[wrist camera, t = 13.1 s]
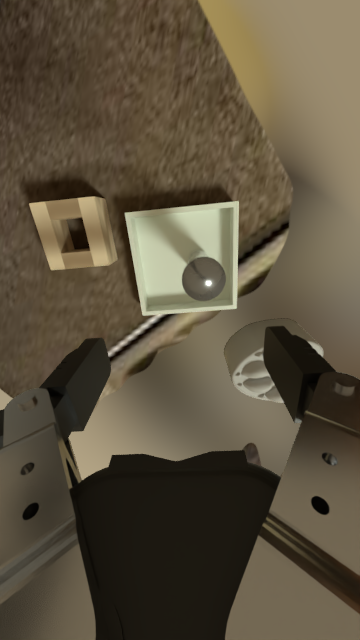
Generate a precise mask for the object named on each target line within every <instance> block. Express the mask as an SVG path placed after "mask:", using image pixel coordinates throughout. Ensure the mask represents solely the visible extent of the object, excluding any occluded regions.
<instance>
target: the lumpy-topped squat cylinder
mask: <svg viewBox="0 0 360 640" xmlns="http://www.w3.org/2000/svg"><path fill="white" fill-rule="evenodd" d="M269 326H285V328H286V329H287V330H288V331H289V332H290V333H291V334H292V335H297V336H299V337H301V338H303V339H305V340H306V341H307V342H308V343H309V344H310V345H311V346H312V347H313V348H314V349H315V350H316V351H317V352H318V354H320V355H321V356H322V357H323V349H322V347H321V346H320V345H319V344H318V343H317V342H316V341H315V340H314V339H313V338H312V337H311V336H310V335H309V334H308V333H307V332H306V331H305V330H304V329H303V328H302V327H301V326H300V325H299V324H298V323H297V322H295V321H293V320H291V319H285V318H283V319H282V318H281V319H270V320H264V321H259V322H255V323H251V324H248V325H246V326H245V327H243V328H242V329H240V330H239V331H237V332H236V333H235V334H234V335H233V336H232V337H231V338H230V339H229V341H228V342H227V343H226V345H225V348H224V355H225V359H226V363H227V366H228V370H229V373H230V376H231V381H232V383H233V385H234V386H235V387H236V388H237V389H238V390H239V391H240V392H242V393H243V394H245V395H247V396H250V397H253V398H257V399H261V400H271V401H274V402H277V403H283V400H282V398H281V396H280V394H279V392H278V390H277V388H276V386H275V384H274V383H273V381H272V379H271V377H270V375H269V373H268V371H267V369H266V367H265V364H264V359H263V351H264V338H265V329H266V327H269Z"/></svg>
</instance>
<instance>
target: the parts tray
mask: <svg viewBox="0 0 360 640" xmlns="http://www.w3.org/2000/svg"><path fill="white" fill-rule="evenodd" d="M238 217H239V201H234V202H225V203H215V204H205V205H195V206H186V207H176V208H166V209H156V210H147V211H137V212H127V213H125V218H126V224H127V229H128V235H129V241H130V246H131V252H132V258H133V263H134V269H135V275H136V281H137V286H138V292H139V298H140V303H141V309H142V315H143V316H145V315H158V314H172V313H186V312H199V311H213V310H226V309H237V273H238ZM195 250H202V251H204V252H206V253H207V255H208V257H211V258H213V259H215V260H217V261H218V262H219V263H220V265H221V266H222V267H223V269H224V271H225V275H226V282H225V286H224V288H223V290H222V292H221V293H220V294H219V295H218V296H217V297H215V298H213V299H211V300H208V301H198V300H195V299H193V298H191V297H190V296H189V295H188V294H187V293H186V292H185V290H184V288H183V285H182V274H183V270H184V268H185V266H186V265H187V264H188V257H189V255H190V254H191V253H192V252H193V251H195Z"/></svg>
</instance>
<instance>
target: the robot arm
mask: <svg viewBox="0 0 360 640" xmlns="http://www.w3.org/2000/svg"><path fill="white" fill-rule="evenodd" d="M263 359H264V364H265V367H266V369H267V371H268V373H269V375H270V377H271V379H272V381H273V383H274V384H275V386H276V388H277V390H278V392H279V394H280V396H281V398H282V400H283V402H284V404H285V405H286V407H287V409H288V411H289V413H290V415H291V417H292V419H293V421H294V423H301V424H300V427H299V430H298V433H297V435H296V438H295V441H294V444H293V446H292V449H291V452H290V455H289V458H288V460H287V463H286V466H285V469H284V471H283V474H282V477H280V476H278V475H277V474H275V473H273V472H272V471H270V470H268V469H266V468H264V467H262V466H259V465H256V464H253V463H249V462H247V459H246V455H245V451H244V450H240V451H215V452H214V451H212V452H208V453H205V454H201V455H198V456H194V457H191V458H188V459H185V460H182V461H171V460H167V459H163V458H158V457H154V456H150V455H146V454H132V455H131V454H129V455H112V458H111V461H110V464H109V467H107V468H104V469H102V470H100V471H97V472H95V473H94V474H92V475H90V476H88V477H87V478H85V479H84V480H82V479H81V476H80V473H79V469H78V466H77V462H76V459H75V456H74V453H73V449H72V446H71V442H70V440H69V438H68V437H69V435H70V433H71V432H74V431H83V430H84V428H85V426H86V424H87V422H88V420H89V418H90V416H91V414H92V412H93V409H94V407H95V405H96V403H97V401H98V399H99V397H100V395H101V393H102V391H103V388H104V386H105V384H106V382H107V380H108V378H109V376H110V372H111V365H110V360H109V357H108V353H107V349H106V346H105V342H104V340H103V338H90V339H85V340H84V342H83V343H82V344H81V345H80V347H79V348H78V349H75V350H74V351H72V352H71V353H70V354H68V355H67V356H66V357H65V358H64V359H63V360H62V362H61V364H59V365H58V366H57V368H56V369H55V370H54V371H53V372H52V373H51V375H50V376H49V377H48V378H47V379H46V380H45V382H44V383H43V384H42V385H41V386H40V387H39V388H36V389H31V390H28V391H26V392H23V393H21V394H20V395H18V396H16V397H15V398H14V399H12V400H11V401H10V402H9V403H8V404H7V406H6V407H5V409H4V410H0V640H360V380H359V379H358V378H356V377H354V376H351V375H348V374H345V373H341V372H336V371H335V370H334V369H333V368H332V367H331V366H330V364H329V363H327V361H326V360H325V359H324V358H323V357H322V356H321V355H320V354H318V352H317V351H316V350H315V349H314V348H313V347H312V346H311V345H310V344H309V343H308V342H307V341H306V340H305V339H303V338H301V337H299V336H297V335H292V334H291V333H290V332H289V331H288V330H287V329H286V328H285V326H269V327H266V329H265V338H264V351H263Z"/></svg>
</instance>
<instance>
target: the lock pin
mask: <svg viewBox="0 0 360 640" xmlns="http://www.w3.org/2000/svg"><path fill="white" fill-rule="evenodd" d="M225 282H226V275H225V271H224V269H223V267H222V266H221V265H220V263H219V262H218V261H217V260H215V259H213V258H211V257H208V255H207V253H206V252H204V251H202V250H195V251H193V252H192V253H191V254H190V255H189V257H188V264H187V265H186V266H185V268H184V270H183V274H182V285H183V288H184V290H185V292H186V293H187V294H188V295H189V296H190V297H191V298H193V299H195V300H198V301H208V300H211V299H213V298H215V297H217V296H218V295H219V294H220V293H221V292H222V290H223V288H224V286H225Z"/></svg>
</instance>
